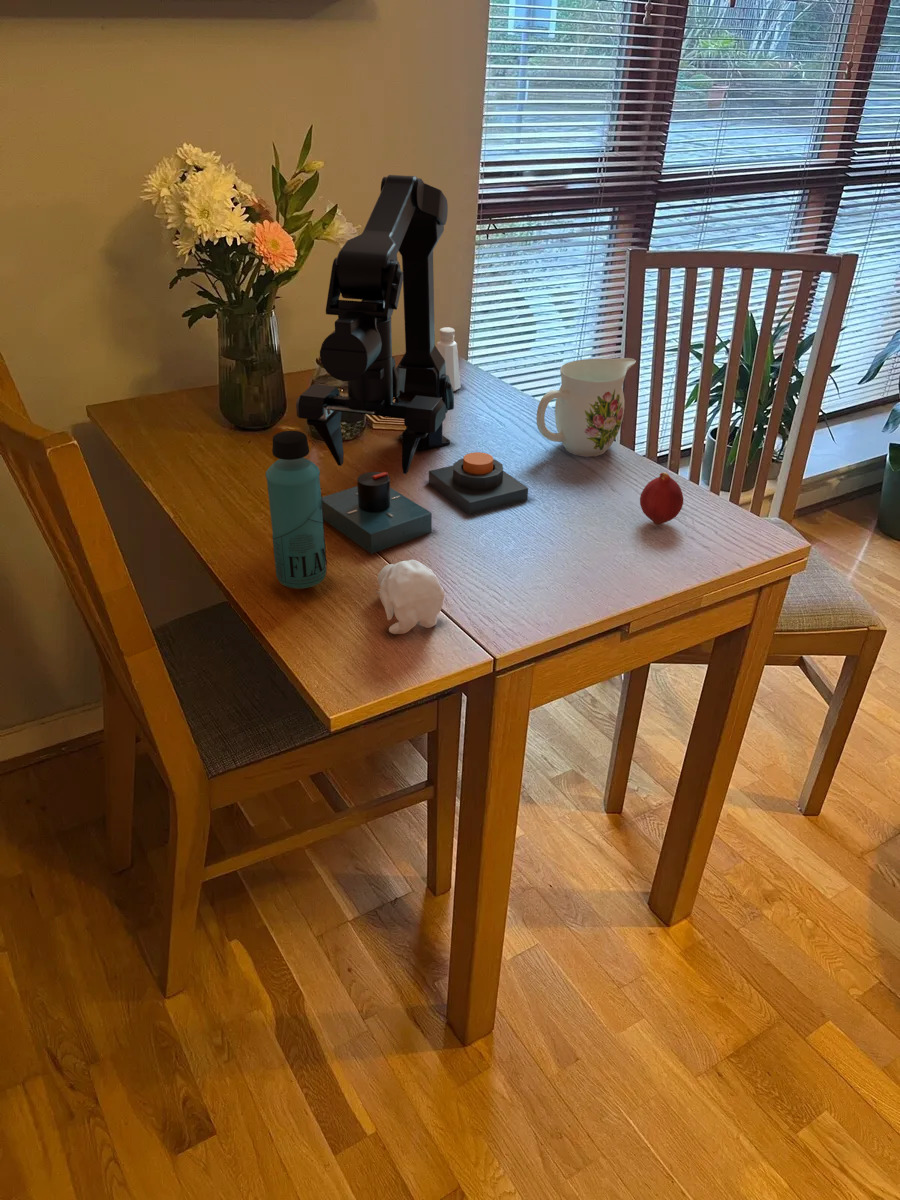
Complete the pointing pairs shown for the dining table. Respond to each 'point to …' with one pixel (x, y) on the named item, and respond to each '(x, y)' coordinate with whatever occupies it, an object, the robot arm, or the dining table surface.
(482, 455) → the button
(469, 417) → the dining table surface
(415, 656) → the dining table surface
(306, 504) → the beverage bottle
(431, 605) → the white lumpy figure
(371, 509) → the dial
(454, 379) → the pepper shaker
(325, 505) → the dial console
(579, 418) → the pitcher
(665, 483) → the onion
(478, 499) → the button base
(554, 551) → the dining table surface
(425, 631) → the dining table surface
